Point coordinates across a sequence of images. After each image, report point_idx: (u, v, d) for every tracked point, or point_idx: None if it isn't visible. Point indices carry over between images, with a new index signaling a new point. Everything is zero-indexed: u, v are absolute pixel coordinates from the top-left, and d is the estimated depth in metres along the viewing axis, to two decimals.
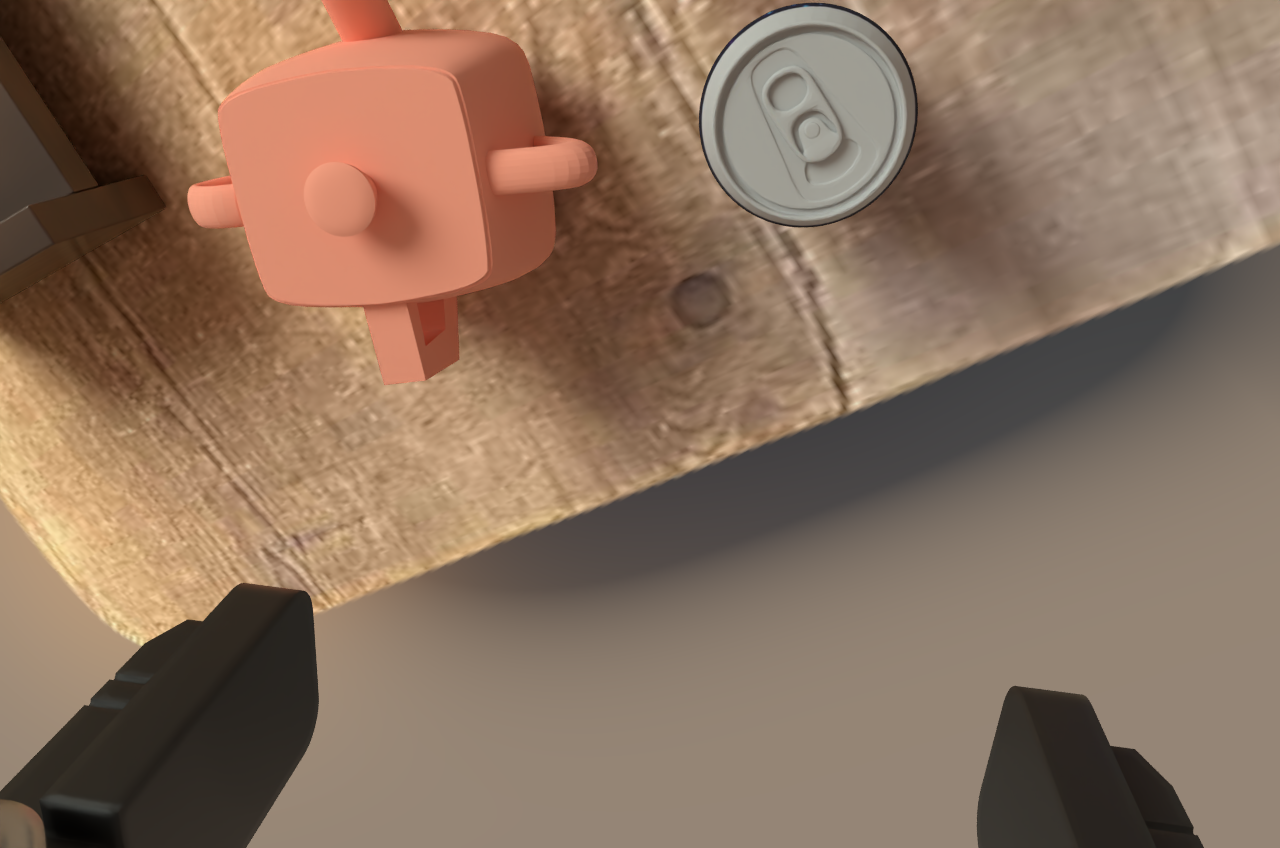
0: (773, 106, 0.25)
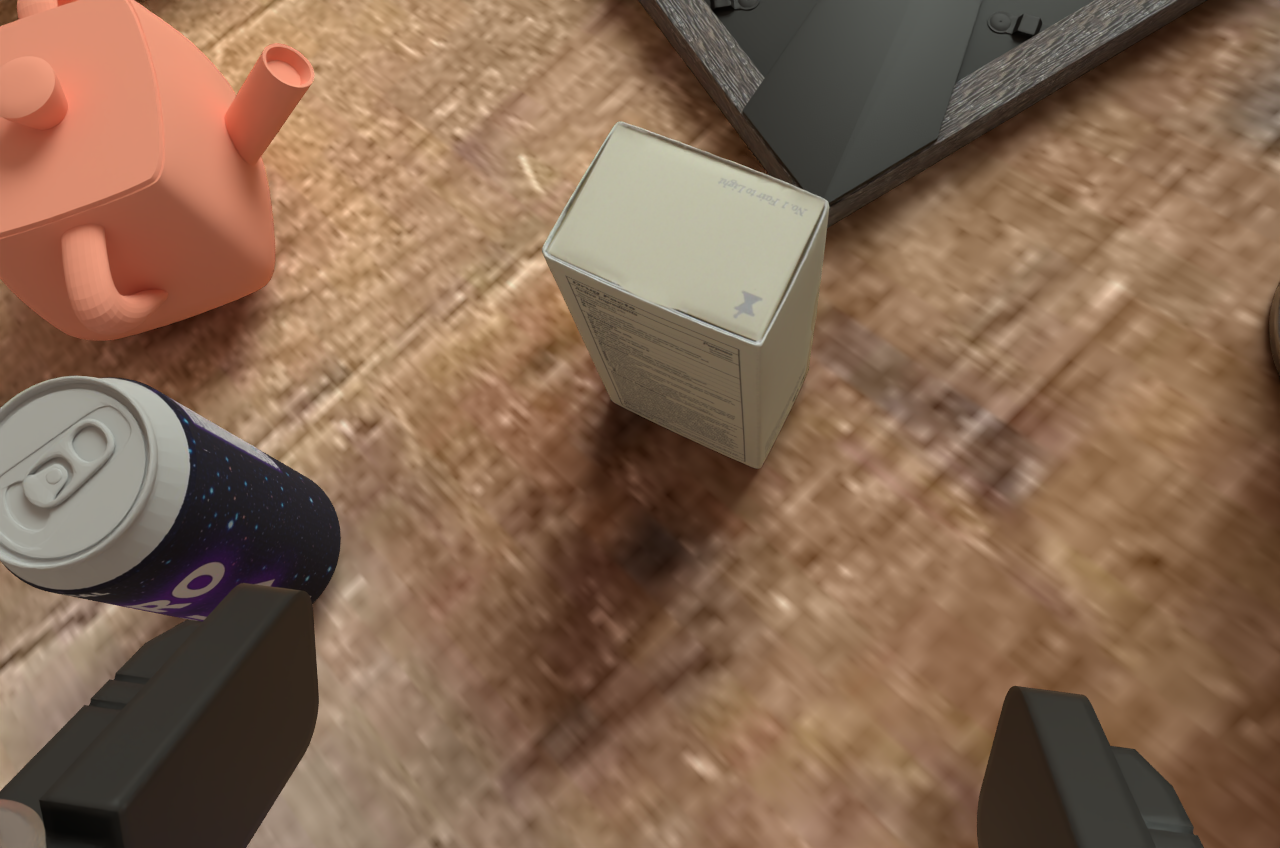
0: (75, 432, 0.25)
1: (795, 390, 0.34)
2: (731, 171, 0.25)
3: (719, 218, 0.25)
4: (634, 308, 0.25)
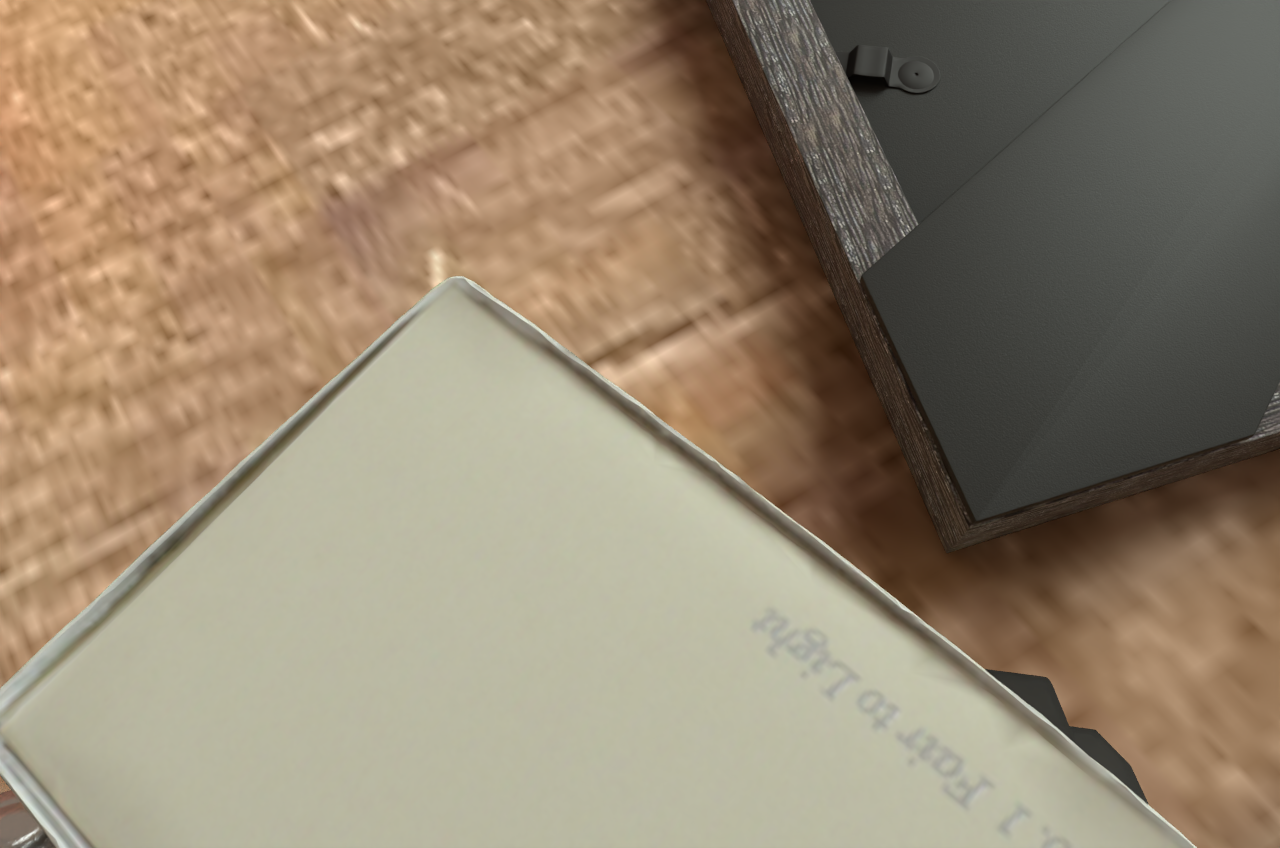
0: None
1: None
2: (816, 587, 0.06)
3: (714, 798, 0.06)
4: None
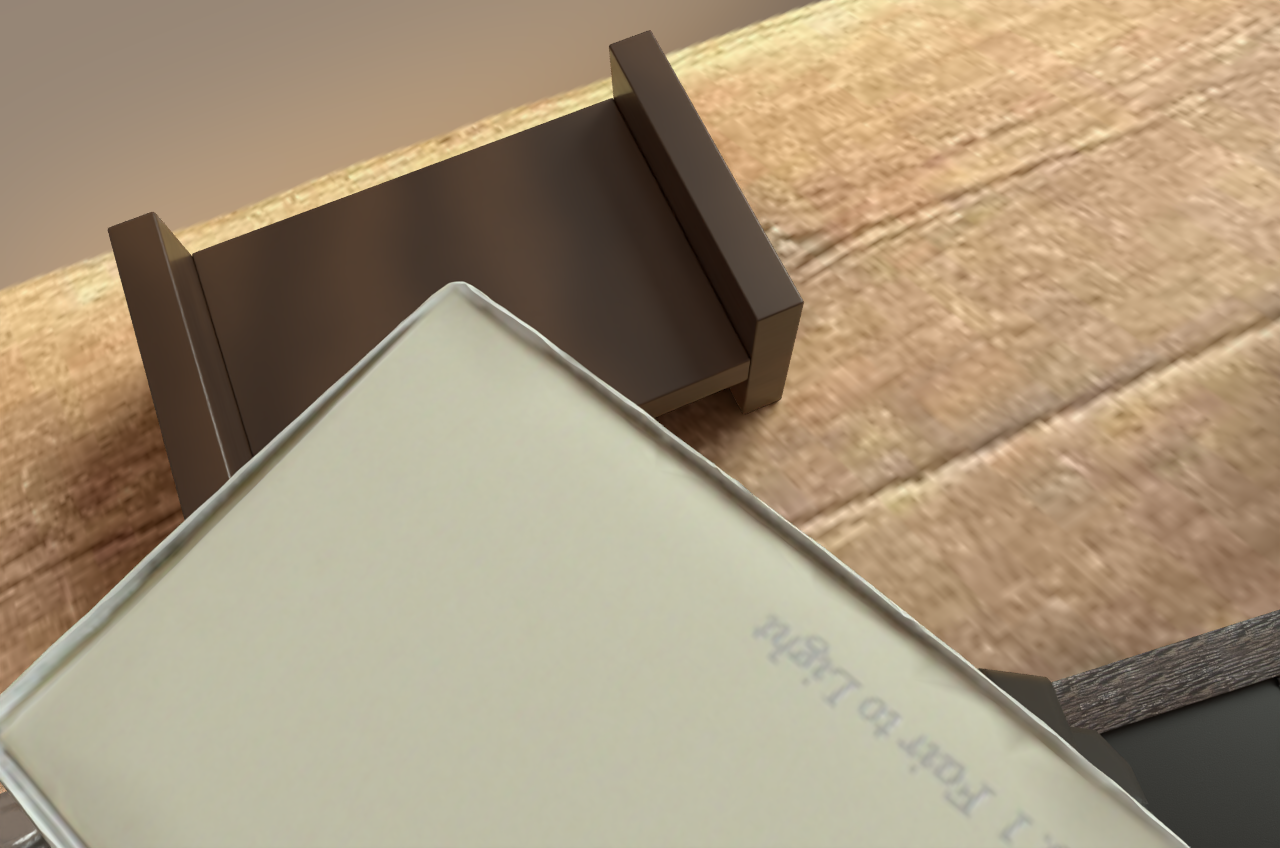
0: None
1: None
2: (817, 594, 0.06)
3: (716, 804, 0.06)
4: None
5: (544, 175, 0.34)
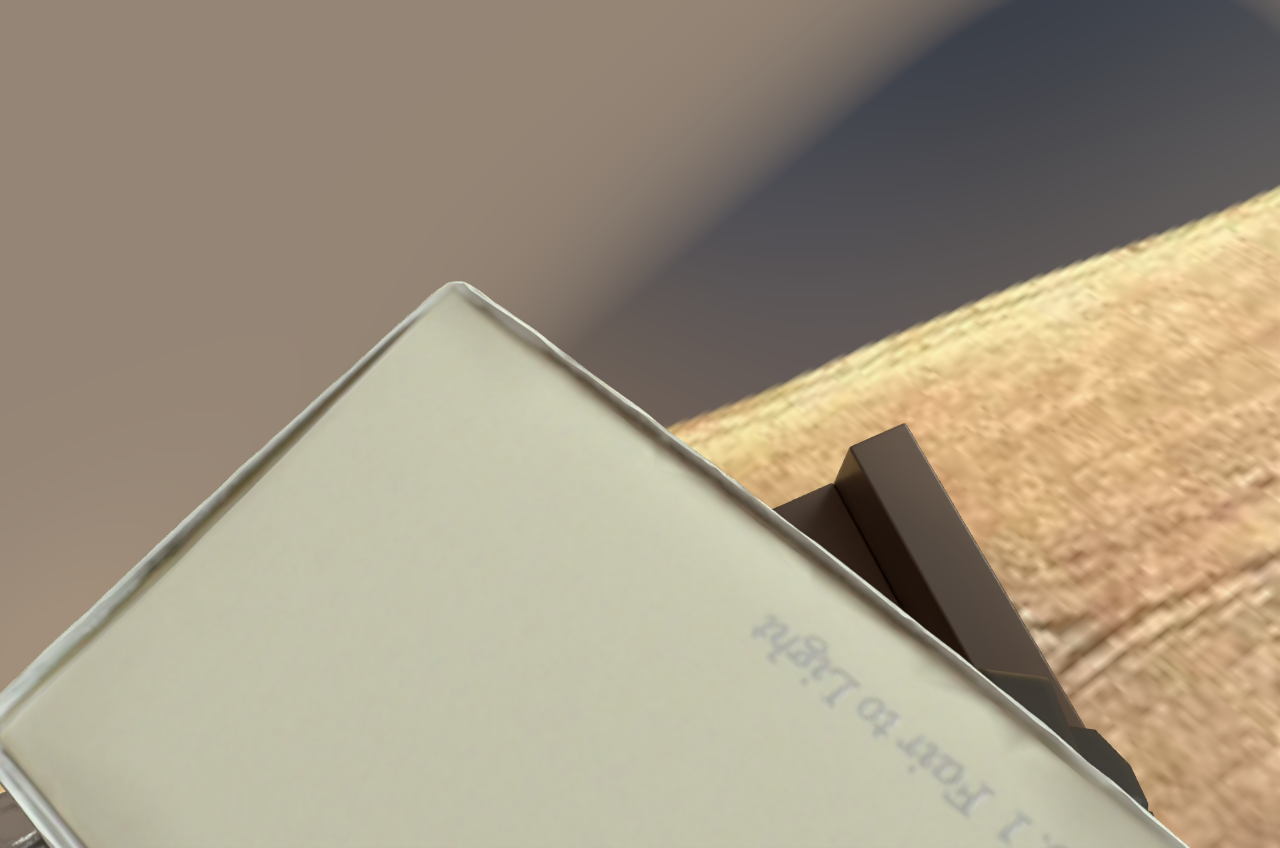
0: None
1: None
2: (816, 594, 0.06)
3: (714, 805, 0.06)
4: None
5: None
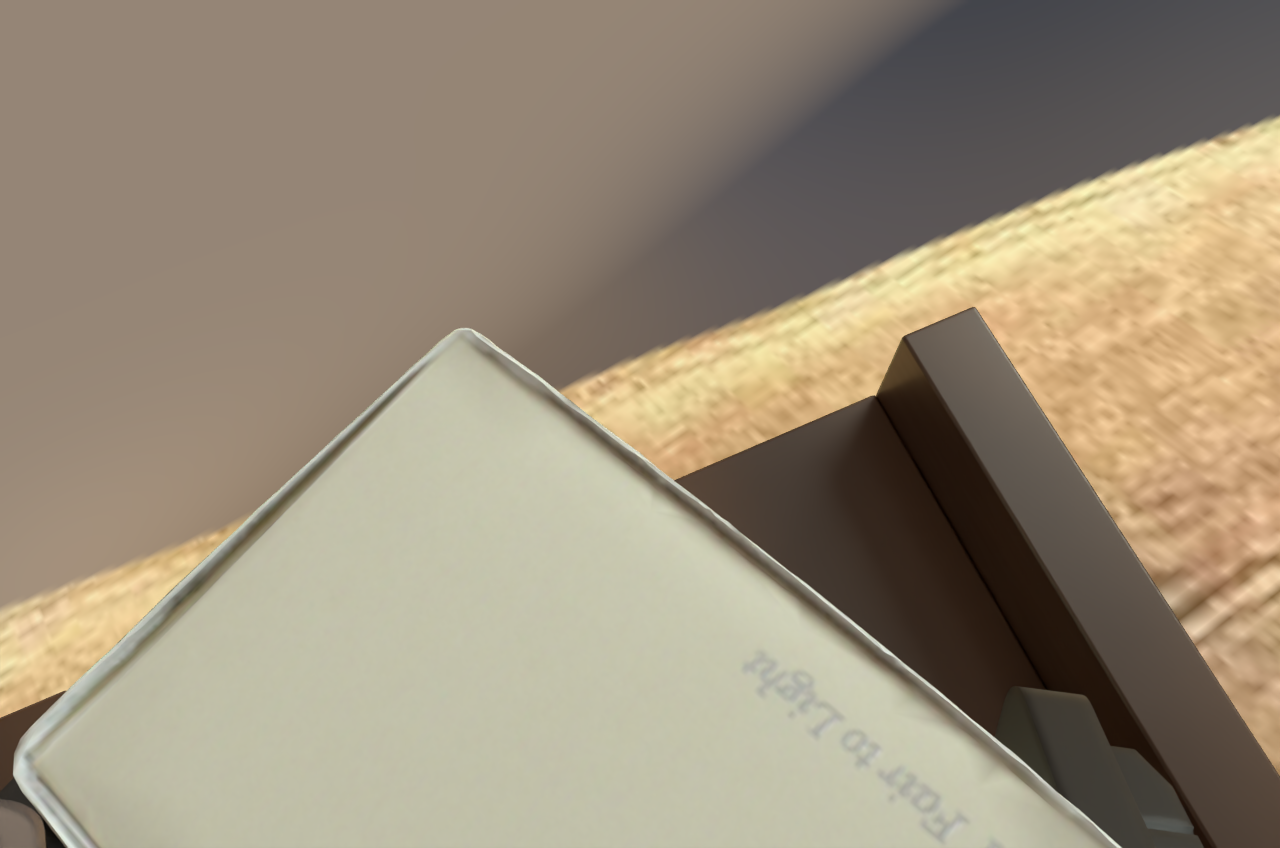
0: None
1: None
2: (803, 631, 0.07)
3: (706, 832, 0.06)
4: None
5: (771, 549, 0.19)
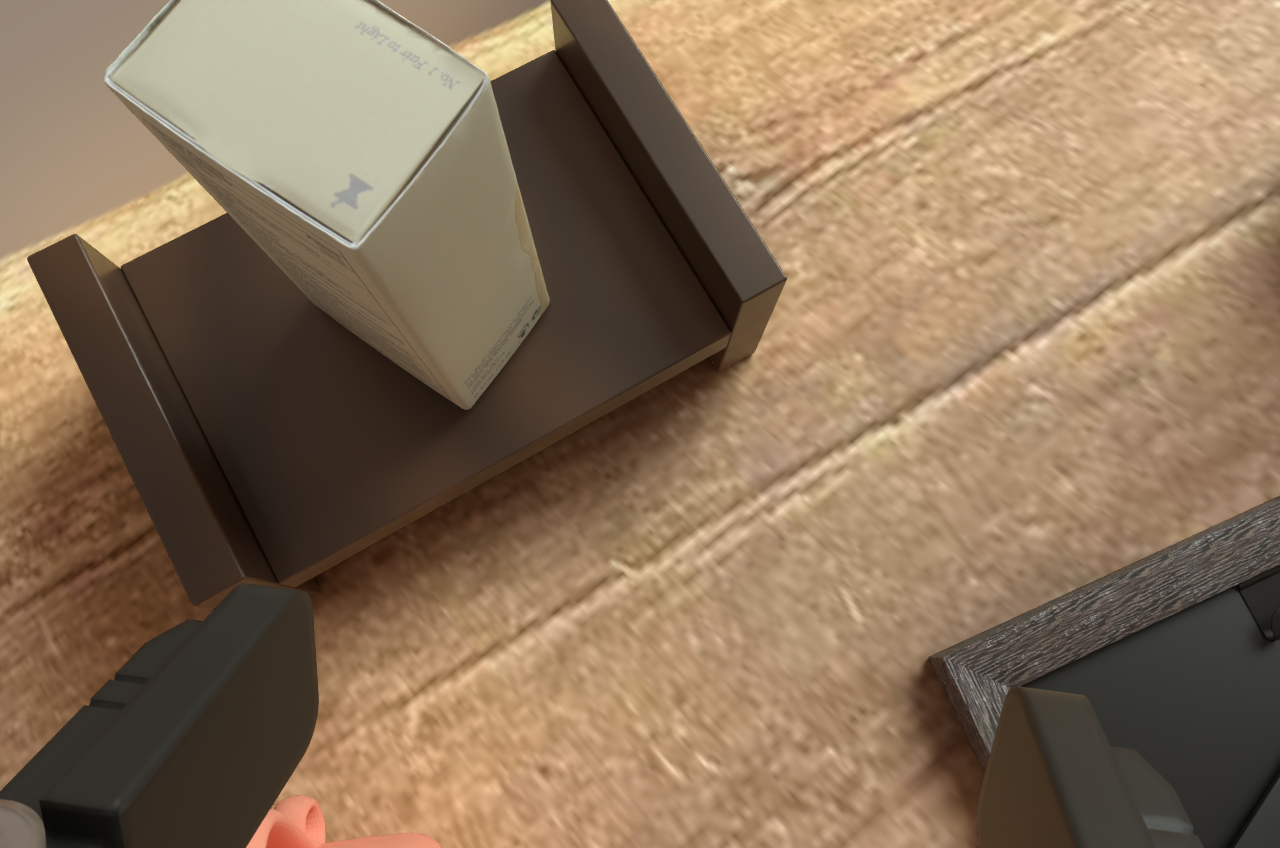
0: None
1: (519, 324, 0.29)
2: (376, 15, 0.19)
3: (343, 73, 0.19)
4: (222, 175, 0.19)
5: None
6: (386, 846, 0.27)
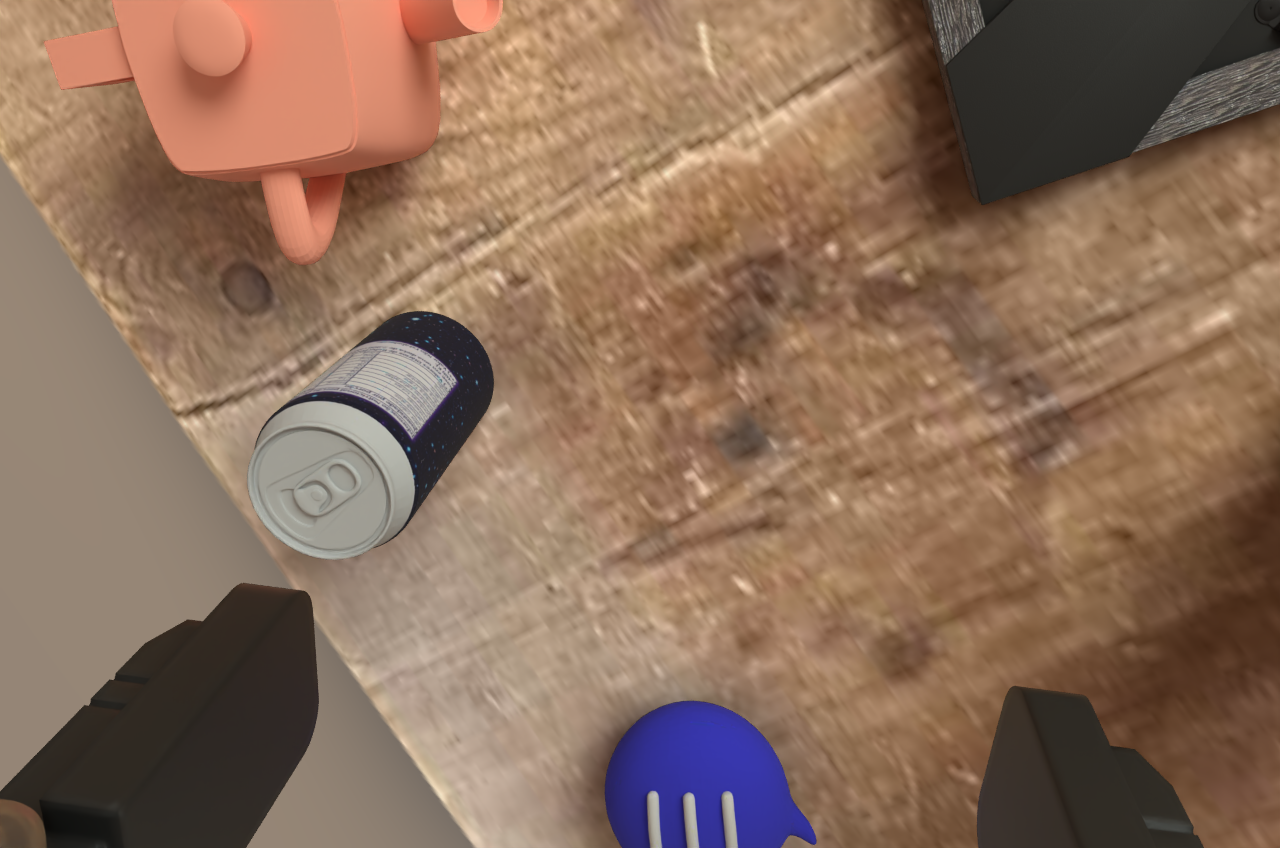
0: (330, 467, 0.32)
1: None
2: None
3: None
4: None
5: None
6: None
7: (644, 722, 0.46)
